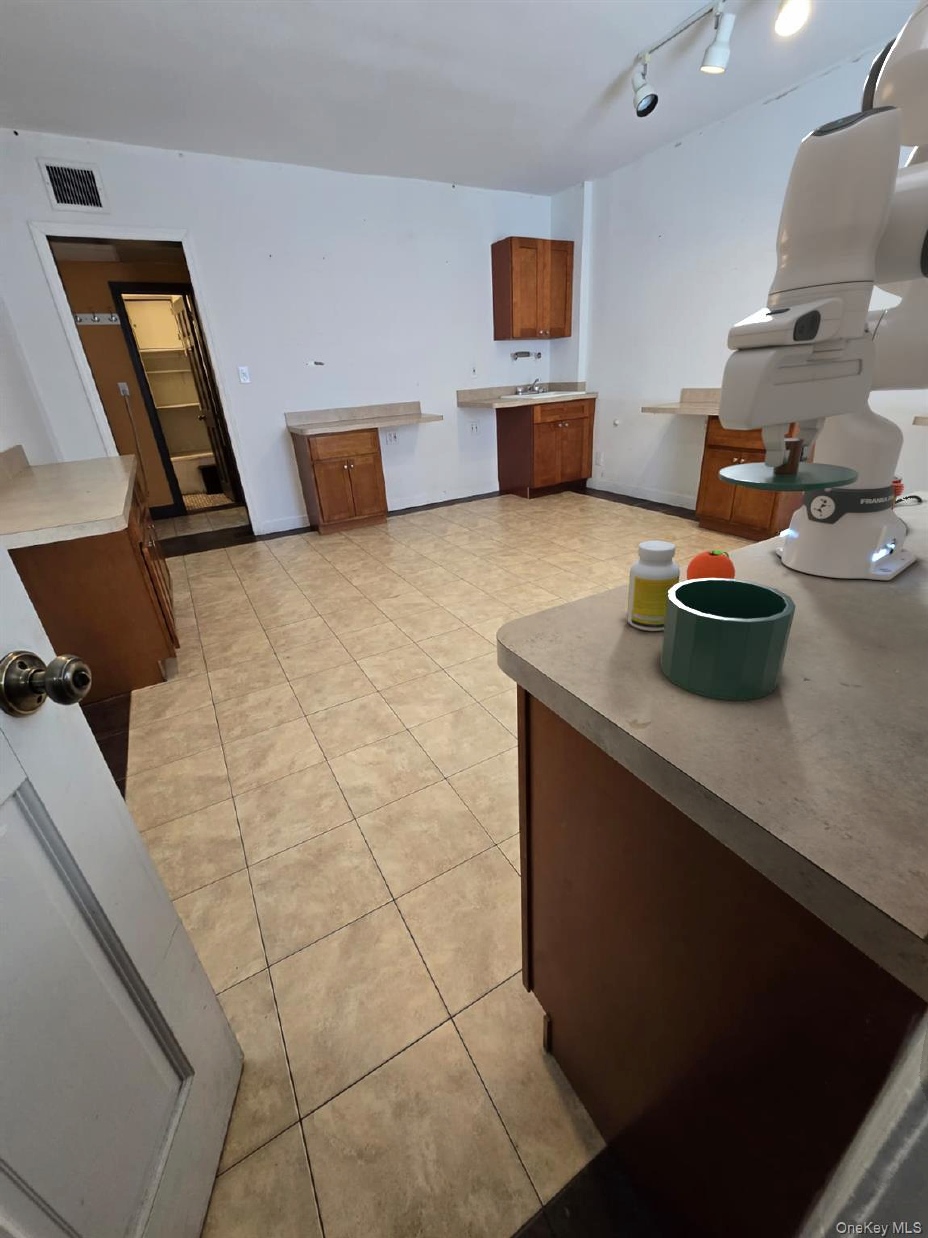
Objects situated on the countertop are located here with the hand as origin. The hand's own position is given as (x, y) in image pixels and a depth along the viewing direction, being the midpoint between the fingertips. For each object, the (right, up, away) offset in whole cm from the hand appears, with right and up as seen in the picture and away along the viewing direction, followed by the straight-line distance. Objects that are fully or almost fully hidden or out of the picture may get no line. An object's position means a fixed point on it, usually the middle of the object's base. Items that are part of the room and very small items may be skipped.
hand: (786, 463), depth 58 cm
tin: (-6, -24, +3) cm, 25 cm away
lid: (0, -1, +1) cm, 2 cm away
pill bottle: (-10, -18, +16) cm, 26 cm away
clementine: (+3, -13, +25) cm, 28 cm away
